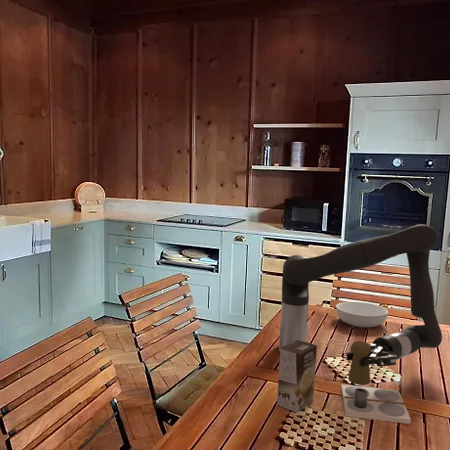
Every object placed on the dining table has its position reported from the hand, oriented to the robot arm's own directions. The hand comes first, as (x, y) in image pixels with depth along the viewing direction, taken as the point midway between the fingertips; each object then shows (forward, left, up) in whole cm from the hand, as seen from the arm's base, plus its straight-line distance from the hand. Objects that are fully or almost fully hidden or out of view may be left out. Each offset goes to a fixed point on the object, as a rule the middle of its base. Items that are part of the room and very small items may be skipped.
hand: (354, 359), depth 131 cm
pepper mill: (+2, +2, -7) cm, 7 cm away
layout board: (+6, -2, -11) cm, 13 cm away
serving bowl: (+10, +68, -12) cm, 70 cm away
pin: (+2, -6, -10) cm, 12 cm away
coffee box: (-15, -6, -12) cm, 20 cm away
